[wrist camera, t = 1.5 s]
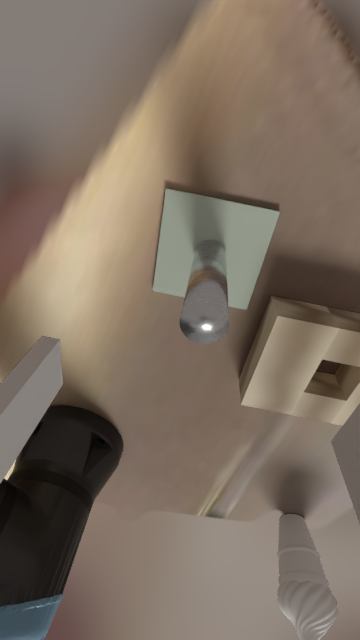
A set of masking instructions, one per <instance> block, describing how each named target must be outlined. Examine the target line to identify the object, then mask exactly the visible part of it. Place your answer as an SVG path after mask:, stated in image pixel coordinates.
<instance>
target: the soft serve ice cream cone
mask: <svg viewBox="0 0 360 640" xmlns="http://www.w3.org/2000/svg"><path fill="white" fill-rule="evenodd" d="M277 555H278V559H279V574H280V576H279V584H280V585H279V588H278V604H279V607H280V609H281V611H282V612H283V613H284V614H285V616H286V617H287V618H288V619H290V620H291V622H292V623H293V624H294V626H295V629H296V632H297V634H298V637H299V638H300V640H320V638H321V637H322V636H323V635H324V634H325V633H326V632H327V630H328V628H329V627H330V626H331V625H332V624H333V623H334V621H335V618H336V617H337V615H338V608H337V600H336V598H335V597H334V596H333V595H332V593H331V590H330V588H329V584H328V580H327V579H326V577H325V574H324V570H323V567H322V564H321V561H320V555H319V553H318V552H317V550H316V547H315V545H314V542H313V540H312V537H311V535H310V532H309V530H308V527H307V525H306V522H305V520H304V518H303V517H302V516H300V515H297V514H285V515H283V516H281V517H280V519H279V545H278V553H277Z"/></svg>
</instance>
